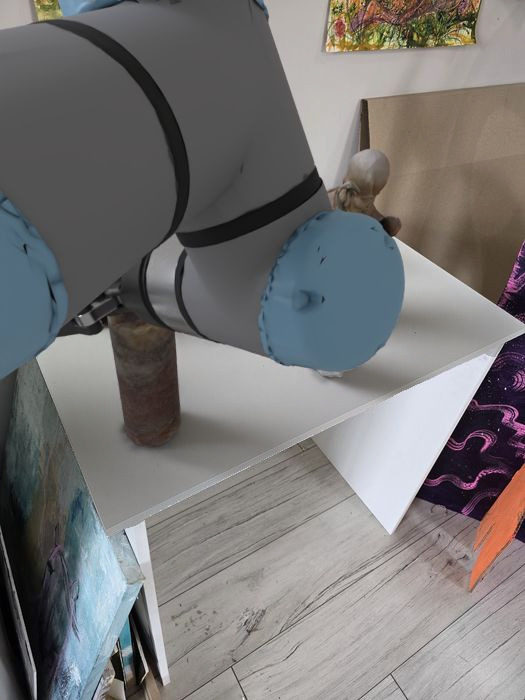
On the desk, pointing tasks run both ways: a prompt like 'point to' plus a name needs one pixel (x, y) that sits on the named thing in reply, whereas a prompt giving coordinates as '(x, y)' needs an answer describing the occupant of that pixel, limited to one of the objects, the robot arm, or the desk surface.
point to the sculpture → (365, 188)
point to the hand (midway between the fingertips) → (89, 269)
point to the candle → (146, 378)
